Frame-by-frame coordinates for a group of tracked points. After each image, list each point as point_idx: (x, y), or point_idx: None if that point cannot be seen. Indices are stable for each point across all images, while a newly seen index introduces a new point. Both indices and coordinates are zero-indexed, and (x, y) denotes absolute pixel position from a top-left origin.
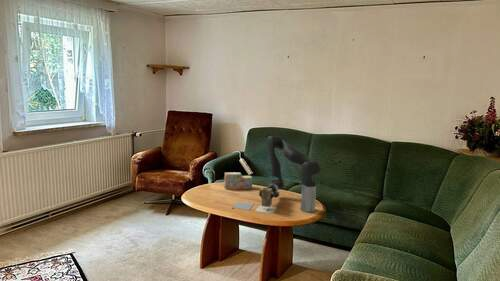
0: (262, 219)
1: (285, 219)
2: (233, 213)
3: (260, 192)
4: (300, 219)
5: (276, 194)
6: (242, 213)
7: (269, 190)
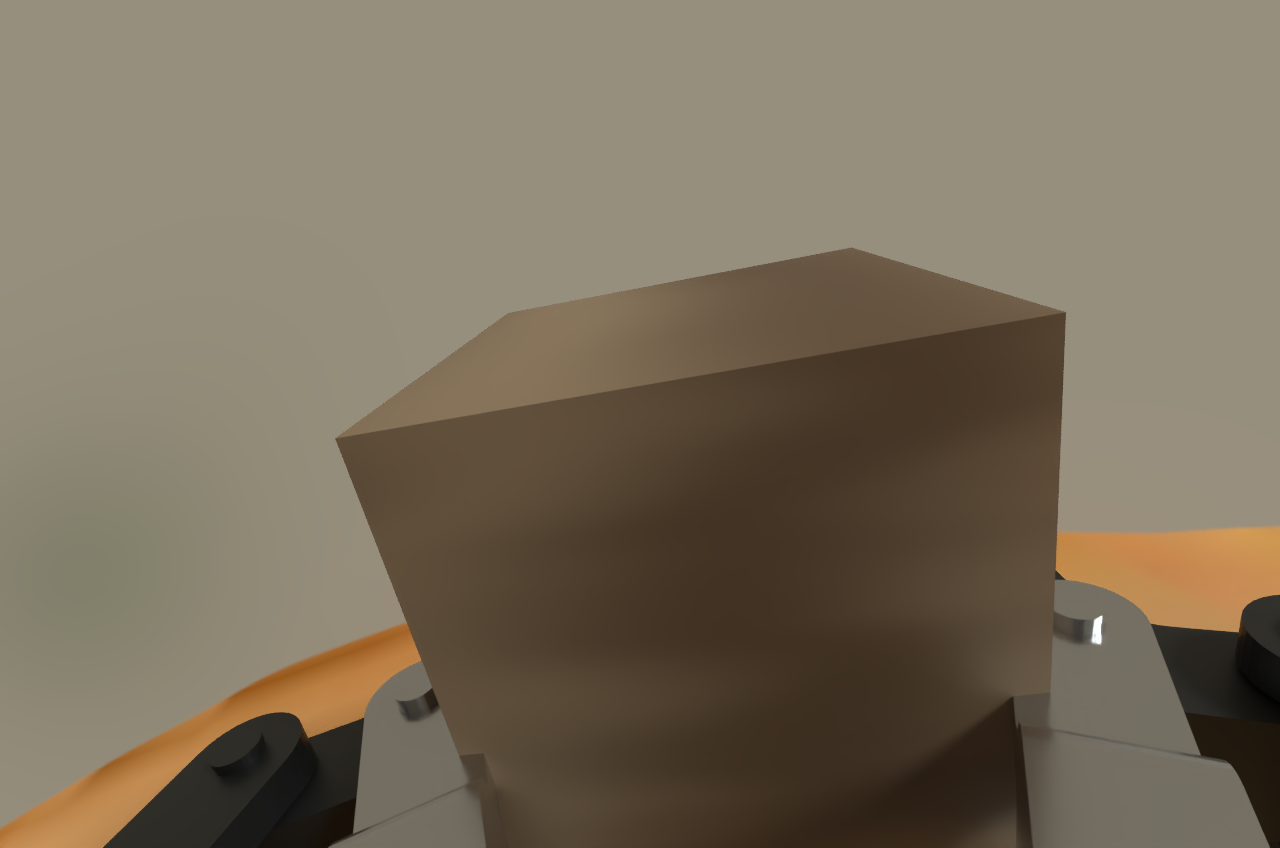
0: None
1: (367, 685)
2: (1218, 530)
3: (1250, 605)
4: (98, 788)
5: (212, 767)
6: (1105, 585)
7: (541, 307)
